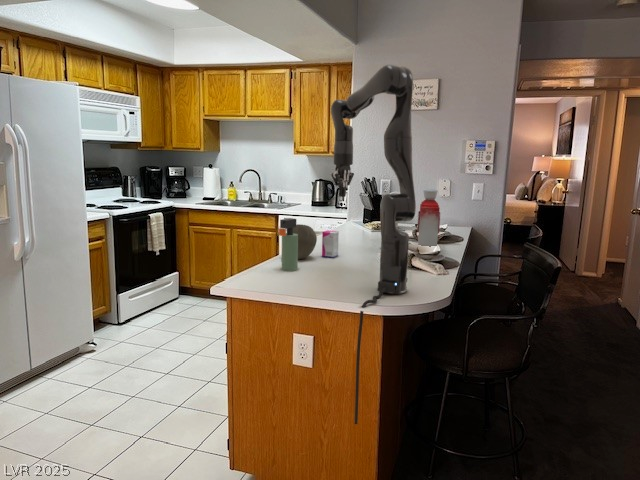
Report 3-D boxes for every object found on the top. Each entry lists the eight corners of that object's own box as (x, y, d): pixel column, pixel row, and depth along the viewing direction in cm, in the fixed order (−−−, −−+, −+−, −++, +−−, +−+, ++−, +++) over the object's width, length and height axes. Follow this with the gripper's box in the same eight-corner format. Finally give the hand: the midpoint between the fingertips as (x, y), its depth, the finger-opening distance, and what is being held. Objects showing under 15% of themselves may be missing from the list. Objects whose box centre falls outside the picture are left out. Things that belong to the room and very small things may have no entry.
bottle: (438, 255, 225) (442, 190, 220) (415, 254, 227) (419, 190, 222) (437, 249, 239) (441, 188, 234) (416, 248, 241) (419, 187, 236)
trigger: (283, 236, 187) (283, 229, 187) (278, 235, 189) (278, 228, 188) (285, 235, 188) (285, 229, 188) (280, 235, 190) (280, 228, 189)
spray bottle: (287, 272, 189) (288, 221, 185) (275, 269, 193) (275, 219, 189) (300, 268, 195) (301, 219, 191) (288, 266, 199) (289, 217, 195)
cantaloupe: (312, 262, 206) (313, 227, 203) (280, 260, 209) (280, 226, 206) (319, 256, 220) (319, 223, 217) (288, 254, 222) (289, 221, 220)
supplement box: (338, 255, 221) (339, 231, 219) (333, 258, 215) (334, 232, 213) (326, 254, 223) (327, 229, 221) (321, 257, 218) (322, 231, 216)
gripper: (341, 152, 184) (340, 198, 187) (360, 152, 194) (359, 196, 197) (325, 152, 188) (325, 197, 191) (344, 152, 198) (343, 195, 202)
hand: (342, 196), depth 194 cm, fingers closed
